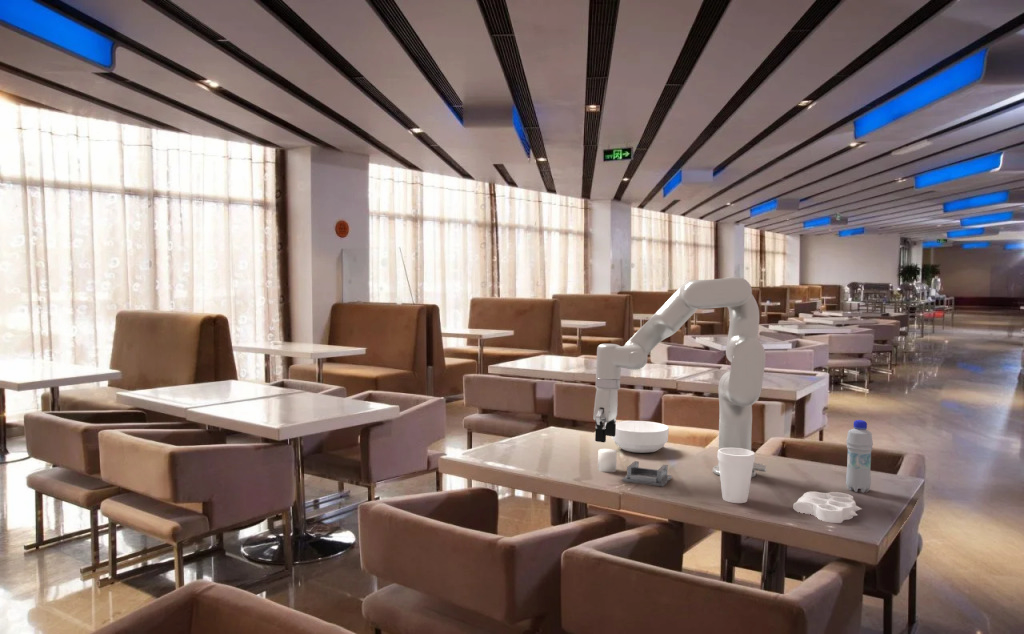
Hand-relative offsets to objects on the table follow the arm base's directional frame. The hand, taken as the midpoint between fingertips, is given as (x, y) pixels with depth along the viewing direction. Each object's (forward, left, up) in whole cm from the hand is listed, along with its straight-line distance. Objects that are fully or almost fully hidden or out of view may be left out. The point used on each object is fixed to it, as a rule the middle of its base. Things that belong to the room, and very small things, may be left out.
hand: (605, 438), depth 217 cm
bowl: (-3, -30, -10) cm, 32 cm away
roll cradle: (-15, +5, -10) cm, 18 cm away
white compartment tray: (-64, +12, -10) cm, 65 cm away
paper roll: (-1, 0, -10) cm, 10 cm away
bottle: (-71, -12, -10) cm, 72 cm away
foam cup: (-41, +13, -10) cm, 44 cm away
